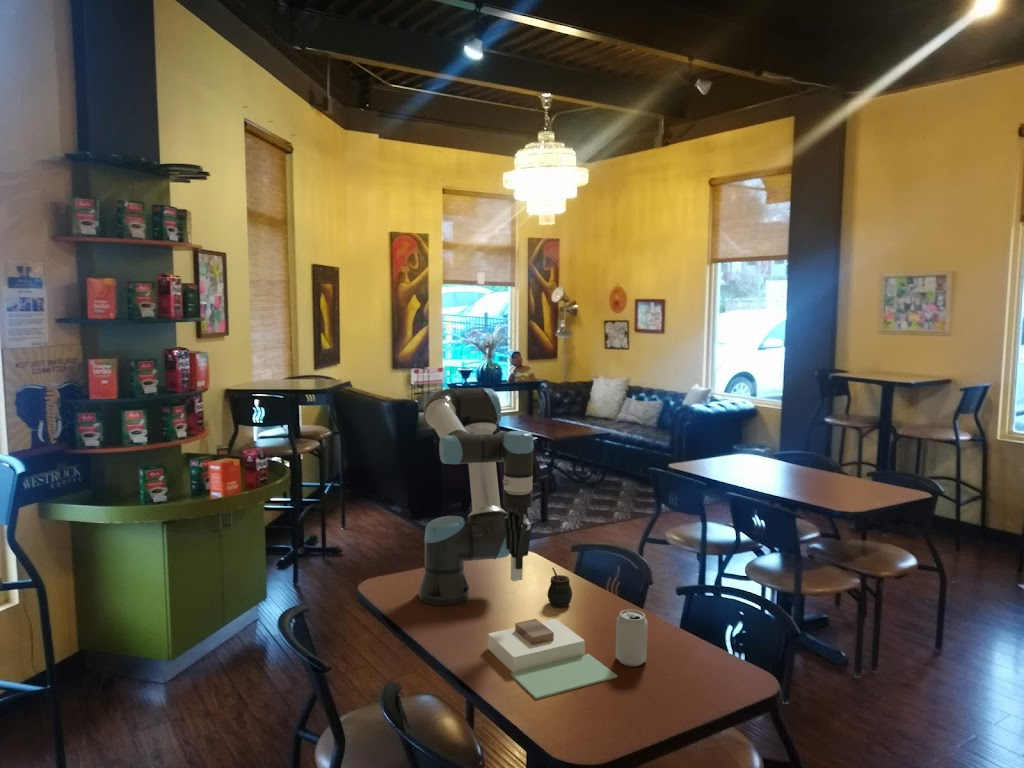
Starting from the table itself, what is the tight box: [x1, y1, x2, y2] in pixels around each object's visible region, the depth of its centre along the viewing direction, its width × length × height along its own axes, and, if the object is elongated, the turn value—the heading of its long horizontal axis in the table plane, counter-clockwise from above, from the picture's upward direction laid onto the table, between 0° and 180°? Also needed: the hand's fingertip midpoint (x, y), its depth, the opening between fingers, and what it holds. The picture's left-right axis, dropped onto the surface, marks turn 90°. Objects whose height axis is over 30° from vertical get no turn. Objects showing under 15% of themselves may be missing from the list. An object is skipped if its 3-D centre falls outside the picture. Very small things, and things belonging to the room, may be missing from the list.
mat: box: [510, 653, 618, 701], centre depth 169 cm, size 12×22×1 cm, turn 118°
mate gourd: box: [547, 567, 573, 608], centre depth 211 cm, size 7×8×10 cm
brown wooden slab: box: [514, 618, 554, 645], centre depth 181 cm, size 9×6×2 cm, turn 28°
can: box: [615, 608, 649, 667], centre depth 177 cm, size 8×8×12 cm
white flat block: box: [487, 618, 586, 673], centre depth 181 cm, size 14×20×4 cm
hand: (516, 579), depth 189 cm, fingers closed
